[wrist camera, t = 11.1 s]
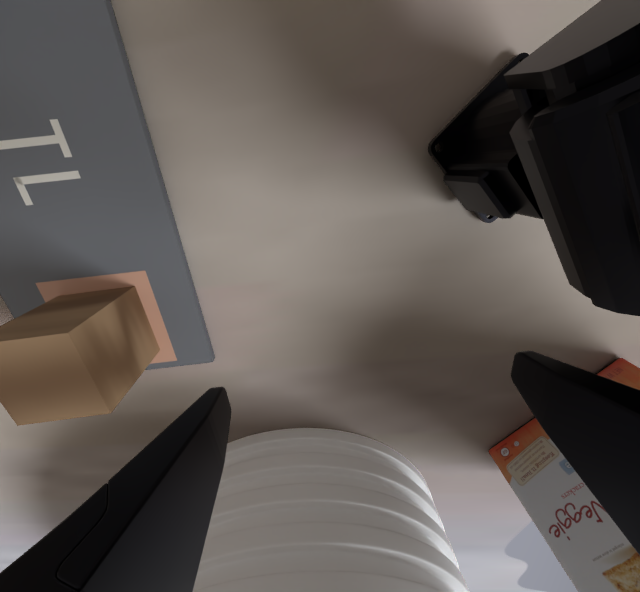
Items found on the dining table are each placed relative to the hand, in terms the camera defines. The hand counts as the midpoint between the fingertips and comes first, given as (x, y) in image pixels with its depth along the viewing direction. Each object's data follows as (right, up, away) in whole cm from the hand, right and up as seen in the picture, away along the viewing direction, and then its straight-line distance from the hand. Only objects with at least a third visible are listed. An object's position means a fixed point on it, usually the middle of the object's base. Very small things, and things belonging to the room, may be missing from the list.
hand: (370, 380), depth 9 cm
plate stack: (-4, -22, +23) cm, 32 cm away
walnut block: (-16, +1, +11) cm, 19 cm away
